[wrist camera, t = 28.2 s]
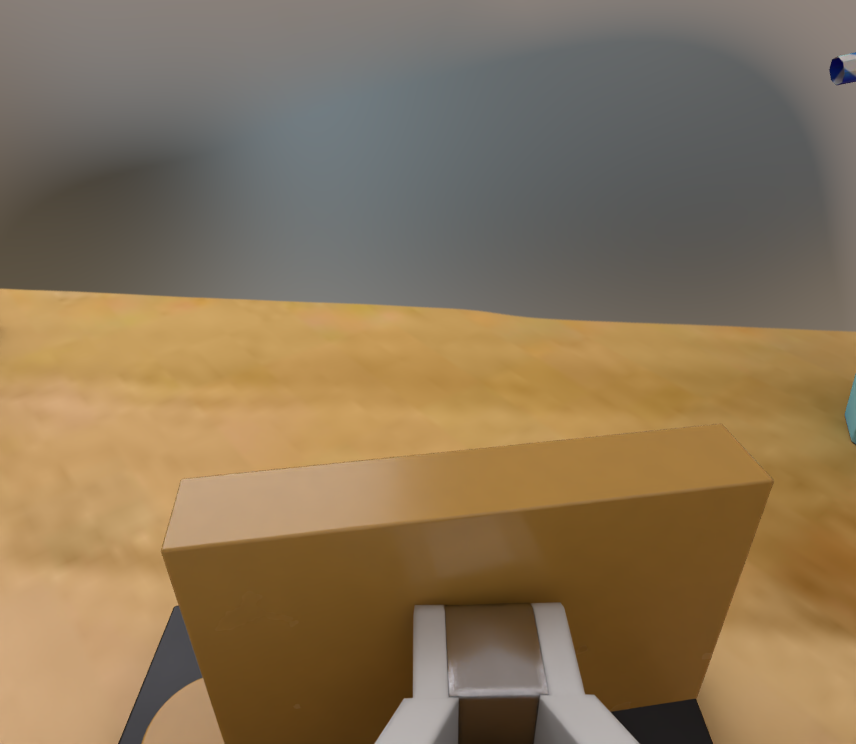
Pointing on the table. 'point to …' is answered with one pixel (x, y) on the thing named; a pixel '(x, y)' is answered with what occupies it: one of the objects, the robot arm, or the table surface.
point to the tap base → (177, 667)
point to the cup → (841, 72)
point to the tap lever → (451, 573)
